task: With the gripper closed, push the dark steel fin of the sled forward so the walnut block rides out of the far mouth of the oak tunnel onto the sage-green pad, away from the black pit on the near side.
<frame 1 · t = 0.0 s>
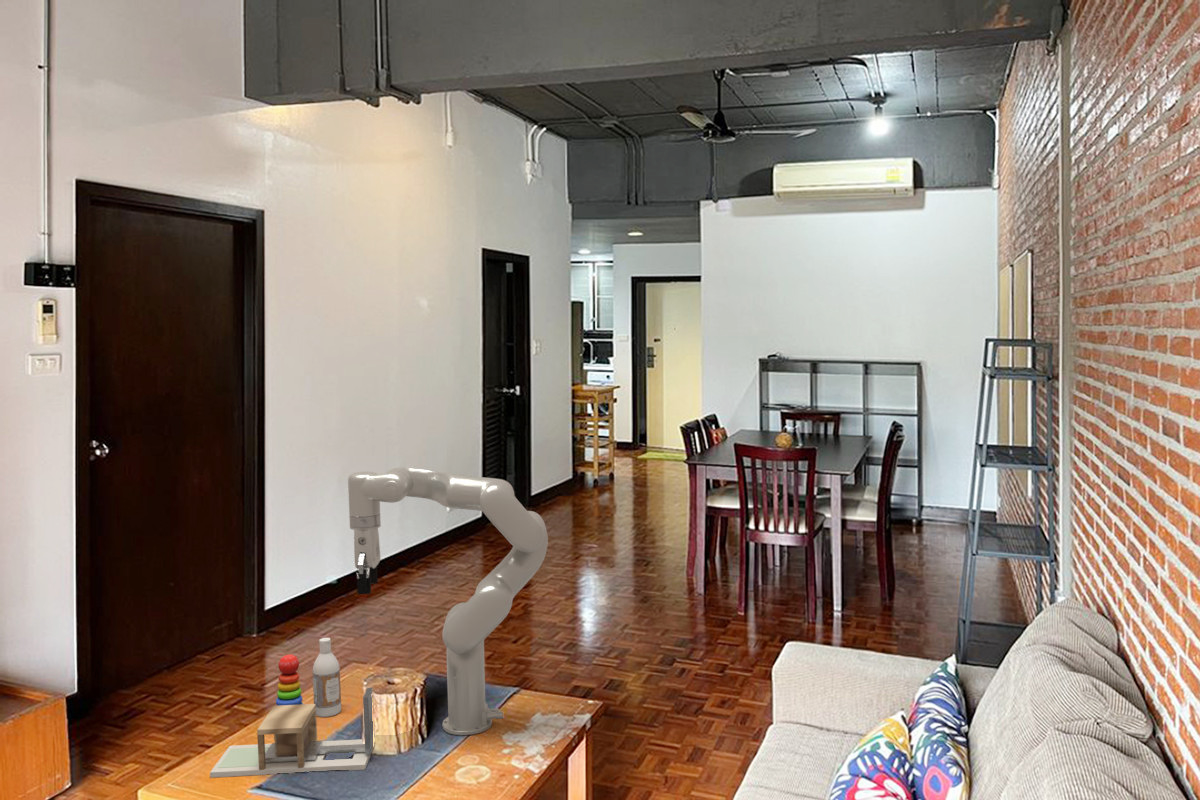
hand: (367, 588, 237), 37 cm above the table, tool pointing down, fingers open, 9 cm apart
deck: (289, 760, 223), on the table
tunnel: (293, 759, 223), resting on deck
walnut block: (293, 749, 223), point 3 cm above the table, touching sled
stacking toy: (289, 727, 243), on the table
bath foam: (328, 713, 251), on the table
sled: (319, 723, 223), point 9 cm above the table, slide at 0.0 cm, touching walnut block
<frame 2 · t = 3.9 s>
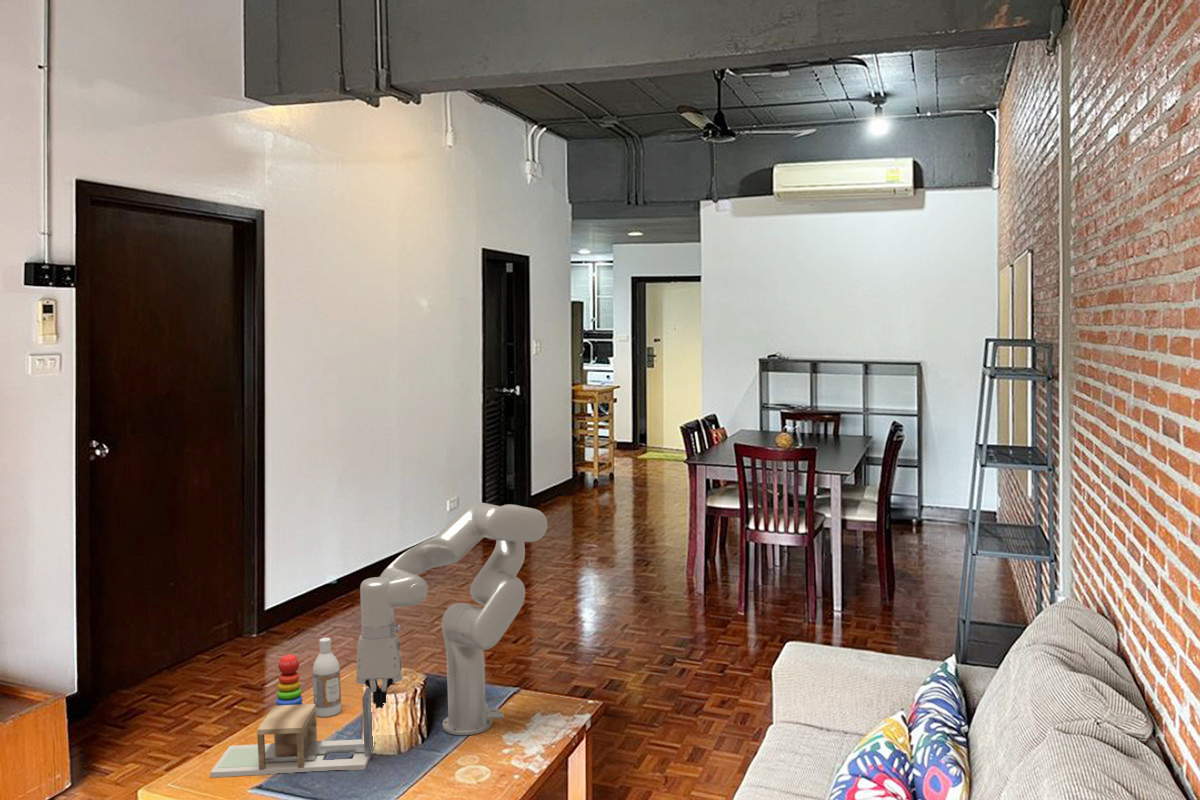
hand: (380, 705, 224), 12 cm above the table, tool pointing down, fingers closed
sled: (318, 723, 223), point 9 cm above the table, slide at 0.2 cm, touching gripper, walnut block
everything else where it was.
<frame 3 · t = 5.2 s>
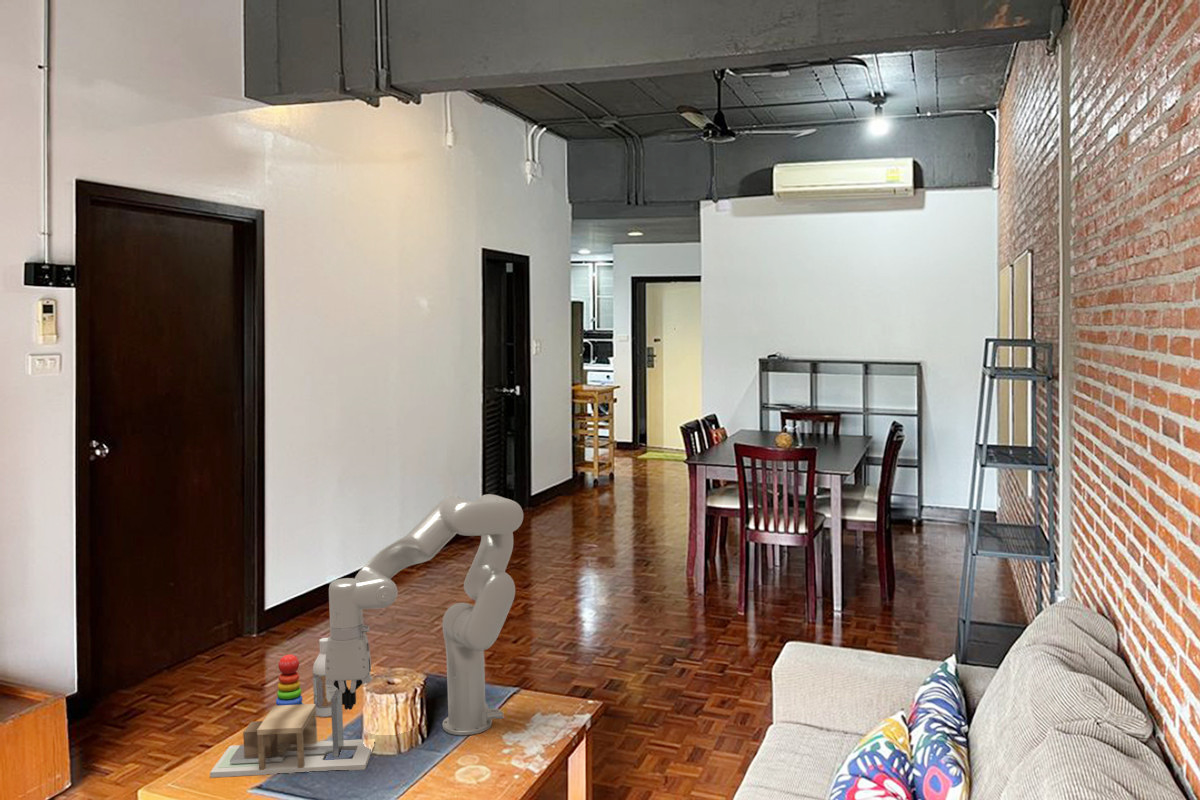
hand: (349, 707, 223), 12 cm above the table, tool pointing down, fingers closed
walnut block: (261, 750, 222), point 3 cm above the table, touching sled
sled: (287, 725, 222), point 9 cm above the table, slide at 7.4 cm, touching gripper, walnut block
everything else where it was.
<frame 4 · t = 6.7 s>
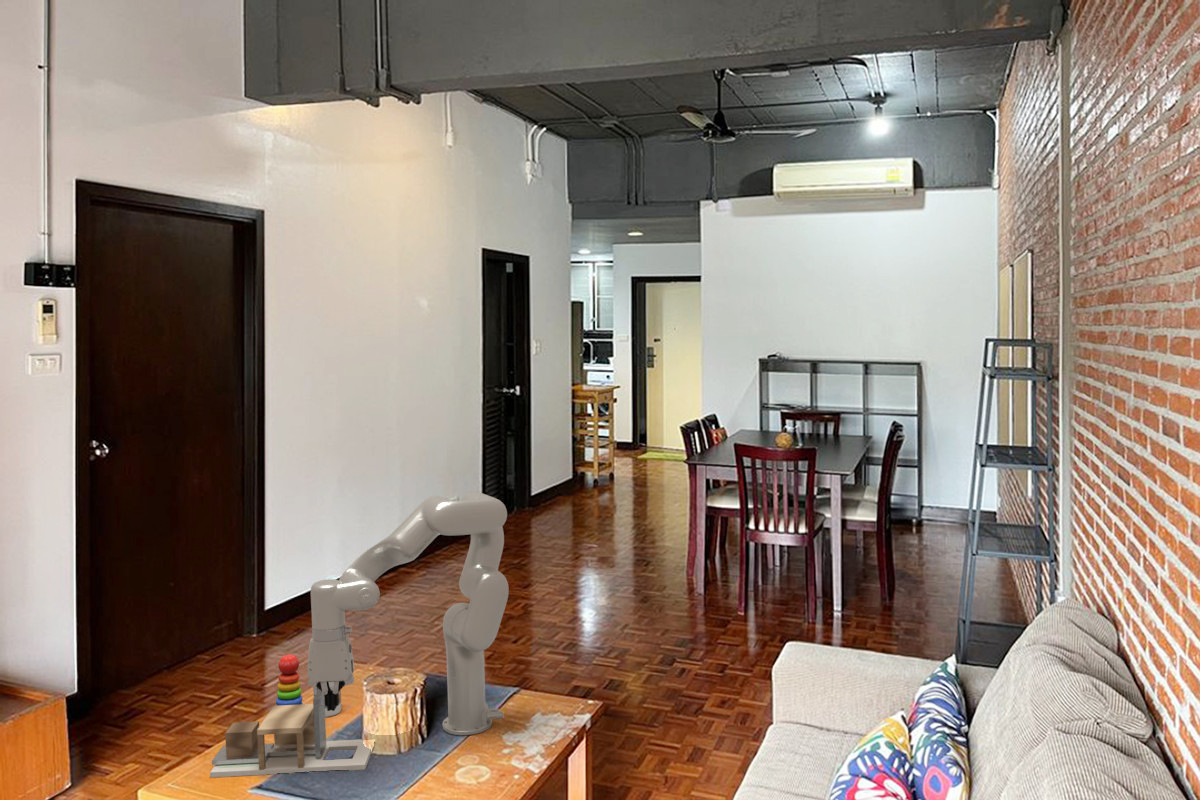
hand: (332, 708, 223), 12 cm above the table, tool pointing down, fingers closed
walnut block: (243, 751, 222), point 3 cm above the table, touching sled
sled: (269, 725, 222), point 9 cm above the table, slide at 11.5 cm, touching gripper, walnut block
everything else where it was.
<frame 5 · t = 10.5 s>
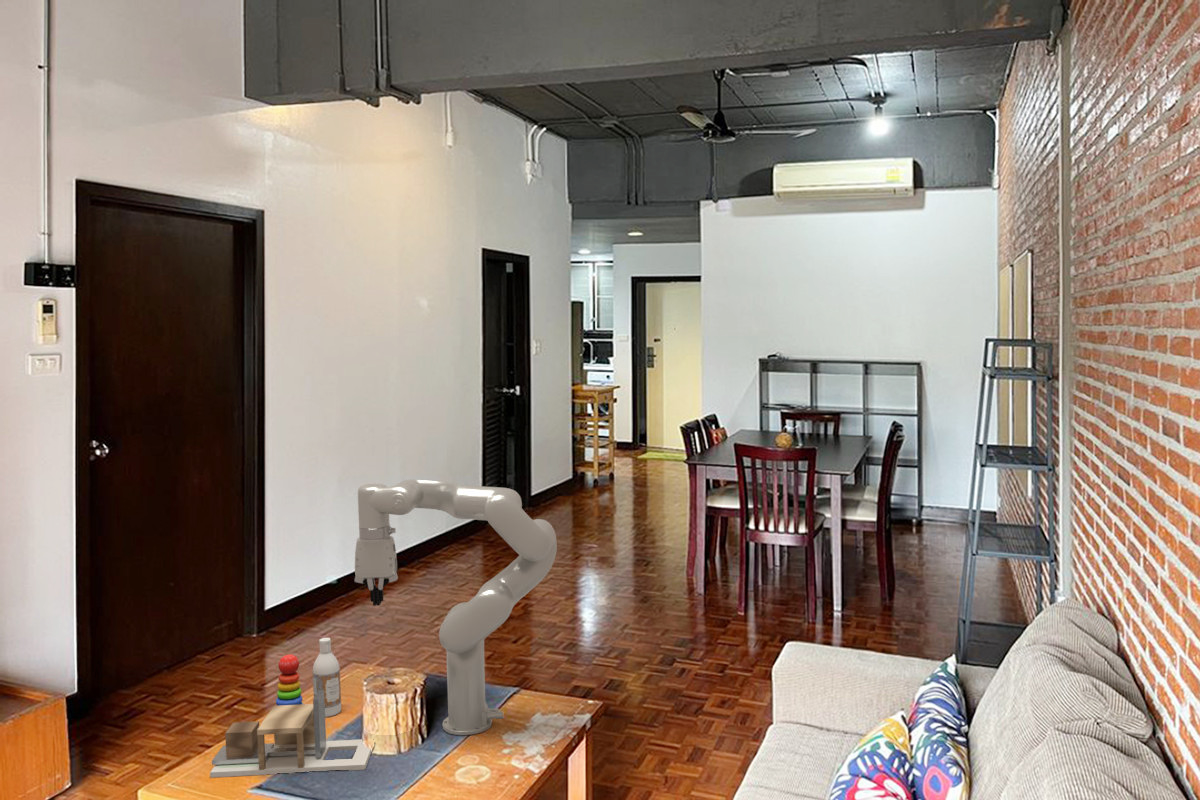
hand: (377, 604, 239), 32 cm above the table, tool pointing down, fingers closed
sled: (269, 725, 222), point 9 cm above the table, slide at 11.5 cm, touching walnut block
everything else where it was.
at the end: sled slide at 11.5 cm; walnut block inside the target area (0.5 cm from its centre), point 2.6 cm above the table; walnut block tilted 0° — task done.
